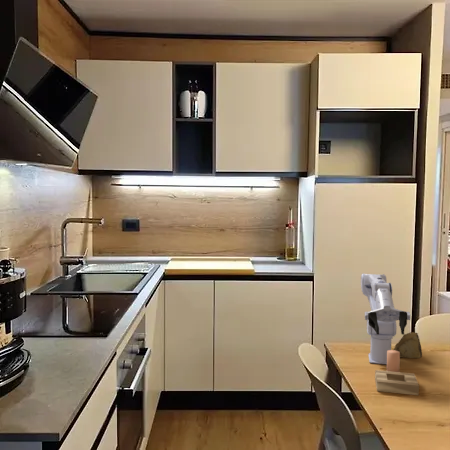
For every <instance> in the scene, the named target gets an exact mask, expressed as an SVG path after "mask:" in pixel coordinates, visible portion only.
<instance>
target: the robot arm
mask: <svg viewBox="0 0 450 450" xmlns="http://www.w3.org/2000/svg"><path fill="white" fill-rule="evenodd" d="M360 289H361V292H362V295H364V296H366V297H367V300H368V302H369V307H370V311H364V320H365V321H366V332H367V335H369V336H370V352H369V353H368V361H369V363H370V364H377V365H378V364H380V365H387V351H388V350H392V339H393V338H394V337H395V336H396V335H397V328H398V327H397V321H398V322H399V323H398V326H399V328H400V334H401V335H402V336H403V335H404V334H405V328H406V327H407V325H408V321H411V313H410V311H404V310H401V309H398V308H395V304H394V300H393V286H392V283H391V282H388V283H387V276H386V274H385V273H384V274H380V273H379V274H375V273H361V275H360Z"/></svg>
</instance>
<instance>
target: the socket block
mask: <svg viewBox="0 0 450 450" xmlns="http://www.w3.org/2000/svg"><path fill="white" fill-rule="evenodd" d="M374 381H375V387H376V392H382V393H393V394H402V395H414V396H420V395H419V392H420V391H419V390H420V385H419V382H418V380H417V377H416V375H415V373H412V372H411V373H410V372H401V371H399V372H391V371H387V370H380V369H379V370H378V369H375V371H374Z"/></svg>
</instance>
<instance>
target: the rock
mask: <svg viewBox="0 0 450 450" xmlns="http://www.w3.org/2000/svg"><path fill="white" fill-rule="evenodd" d="M393 350H396V351H399V352H400V358H408V359H420V358H422V357H423V352H422V351H423V350H422V345H421V340H420V337H419V333H418V332H415V331H412V332H411V331H410V332H407V333H404V335H402V337H401V338H400V340H399V341H398V342H397V343H396V344H395V346H394V348H393Z"/></svg>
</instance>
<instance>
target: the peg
mask: <svg viewBox="0 0 450 450" xmlns="http://www.w3.org/2000/svg"><path fill="white" fill-rule="evenodd" d="M400 359H401V357H400V352H399V351H396V350H394V349H391V350H388V351H387V364H386V371H391V372H400V365H401V364H400V361H401V360H400Z"/></svg>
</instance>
